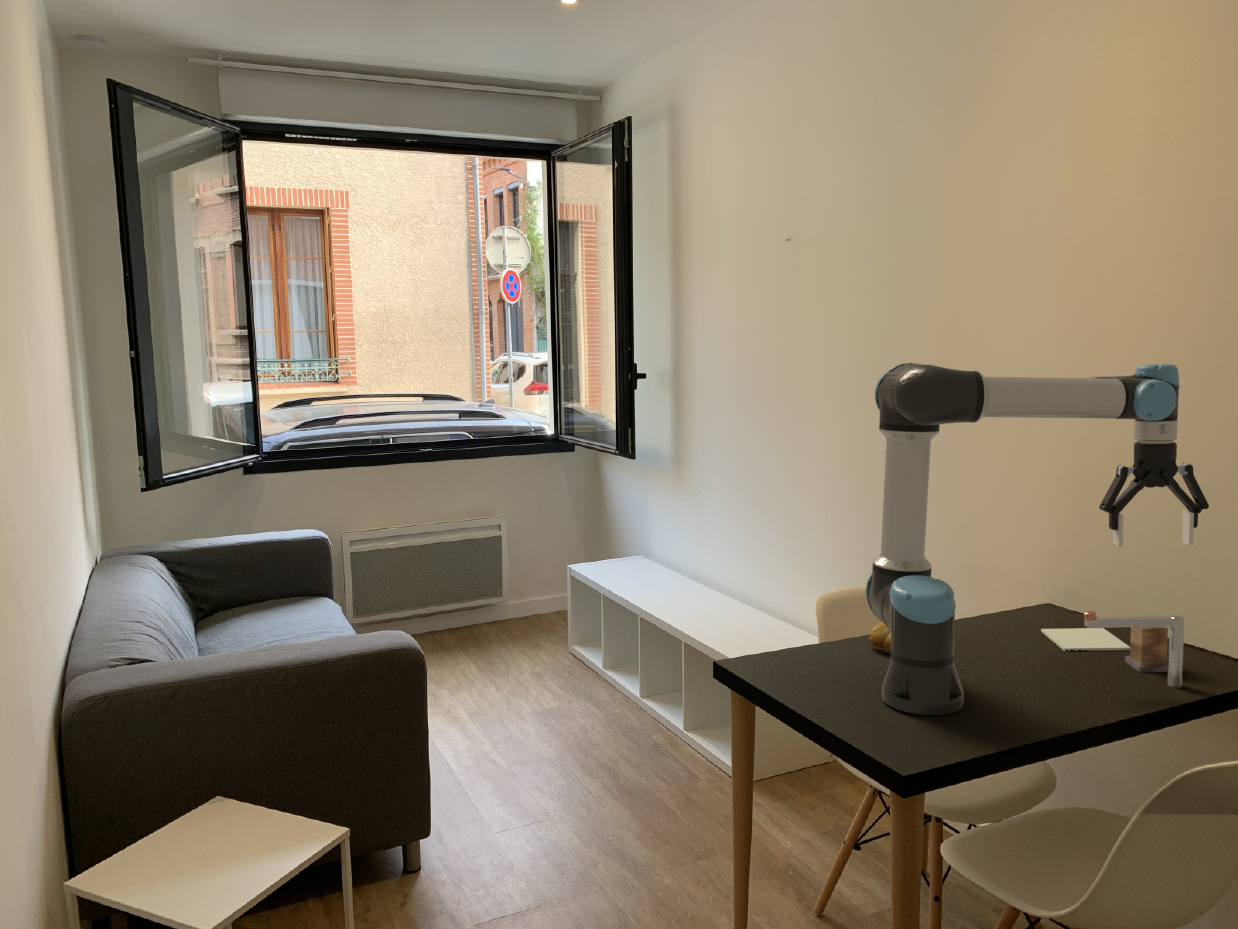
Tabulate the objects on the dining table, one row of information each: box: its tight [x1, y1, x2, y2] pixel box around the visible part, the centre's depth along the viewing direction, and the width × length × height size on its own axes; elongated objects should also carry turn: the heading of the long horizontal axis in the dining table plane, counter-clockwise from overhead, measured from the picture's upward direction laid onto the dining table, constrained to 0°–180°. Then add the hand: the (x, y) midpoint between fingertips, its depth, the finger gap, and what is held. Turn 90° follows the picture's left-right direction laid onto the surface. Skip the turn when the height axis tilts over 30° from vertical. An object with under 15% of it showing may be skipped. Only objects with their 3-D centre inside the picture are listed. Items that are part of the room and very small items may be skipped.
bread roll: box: [868, 620, 891, 654], centre depth 208 cm, size 13×10×8 cm
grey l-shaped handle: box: [1083, 610, 1185, 689], centre depth 182 cm, size 2×19×15 cm, turn 85°
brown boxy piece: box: [1124, 627, 1169, 673], centre depth 193 cm, size 6×6×9 cm
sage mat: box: [1040, 627, 1130, 652], centre depth 210 cm, size 14×14×1 cm
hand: (1152, 544), depth 190 cm, fingers open, 13 cm apart
